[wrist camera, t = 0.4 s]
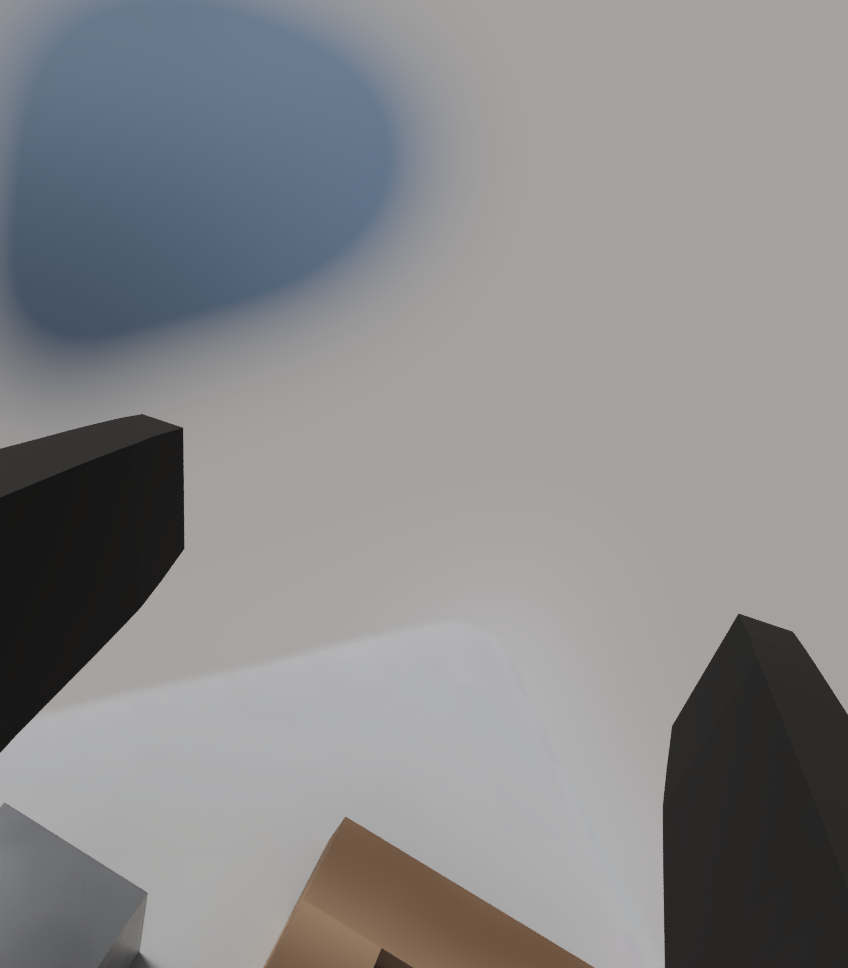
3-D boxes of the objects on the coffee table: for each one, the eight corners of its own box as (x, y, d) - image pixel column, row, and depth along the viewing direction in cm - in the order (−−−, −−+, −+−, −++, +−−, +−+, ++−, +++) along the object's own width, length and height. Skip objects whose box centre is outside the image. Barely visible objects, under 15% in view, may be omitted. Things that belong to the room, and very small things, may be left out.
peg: (35, 1114, 18) (7, 1101, 14) (-91, 1030, 19) (-162, 987, 14) (139, 951, 21) (147, 893, 16) (28, 880, 22) (4, 802, 17)
